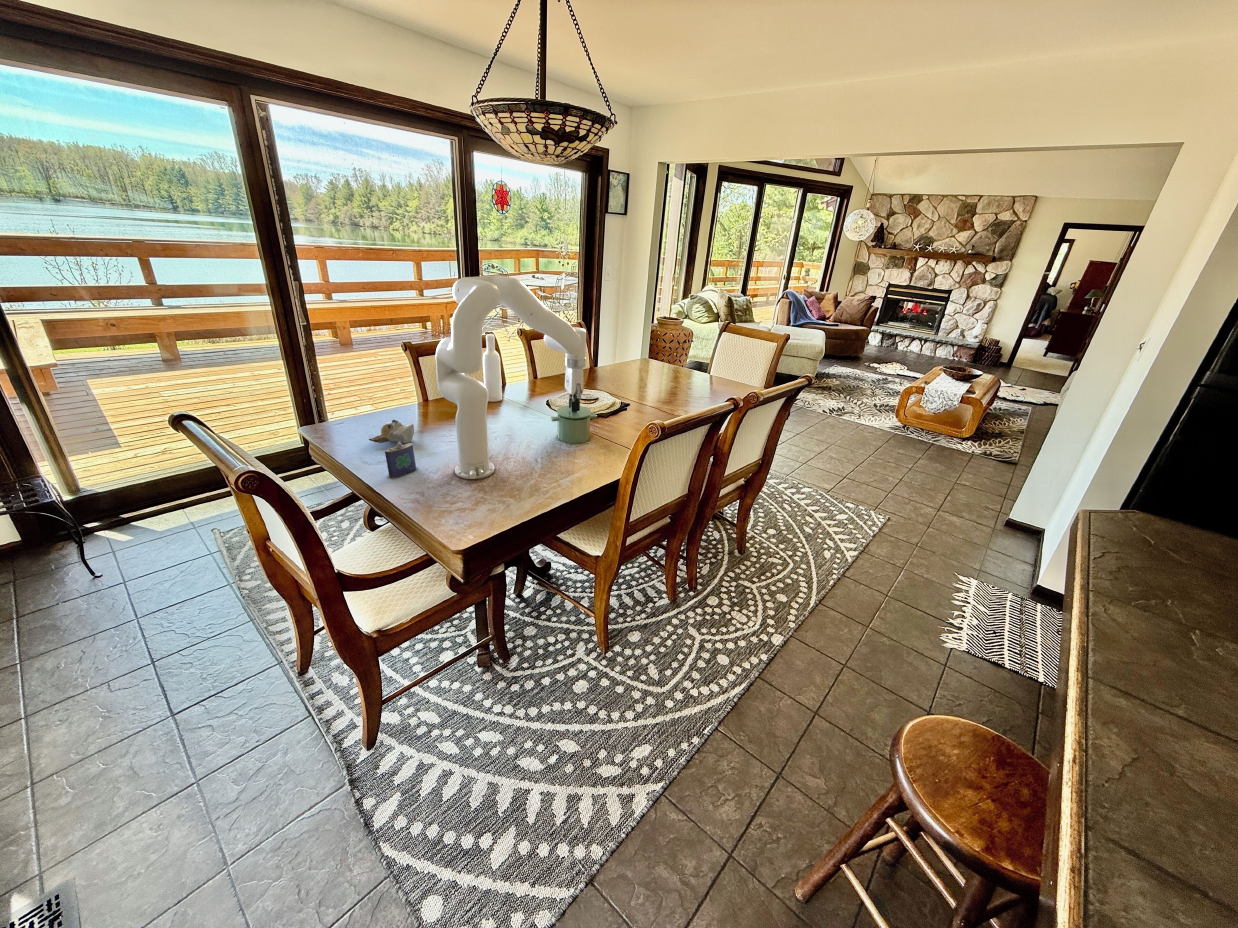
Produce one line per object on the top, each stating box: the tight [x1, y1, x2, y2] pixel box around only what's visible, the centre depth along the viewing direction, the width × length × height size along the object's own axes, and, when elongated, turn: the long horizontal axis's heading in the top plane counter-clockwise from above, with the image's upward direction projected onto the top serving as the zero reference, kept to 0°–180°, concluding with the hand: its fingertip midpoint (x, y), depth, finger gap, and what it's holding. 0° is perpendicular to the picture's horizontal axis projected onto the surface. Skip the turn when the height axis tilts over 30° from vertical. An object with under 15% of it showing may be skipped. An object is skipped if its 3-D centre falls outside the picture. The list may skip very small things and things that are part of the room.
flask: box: [384, 441, 417, 479], centre depth 153 cm, size 9×3×11 cm, turn 144°
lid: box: [556, 395, 593, 418], centre depth 185 cm, size 14×14×7 cm
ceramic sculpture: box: [368, 419, 415, 444], centre depth 175 cm, size 11×9×15 cm
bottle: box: [482, 333, 503, 403], centre depth 220 cm, size 8×8×30 cm
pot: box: [550, 413, 598, 445], centre depth 189 cm, size 13×18×10 cm
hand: (574, 409), depth 186 cm, fingers closed on lid, 2 cm apart
